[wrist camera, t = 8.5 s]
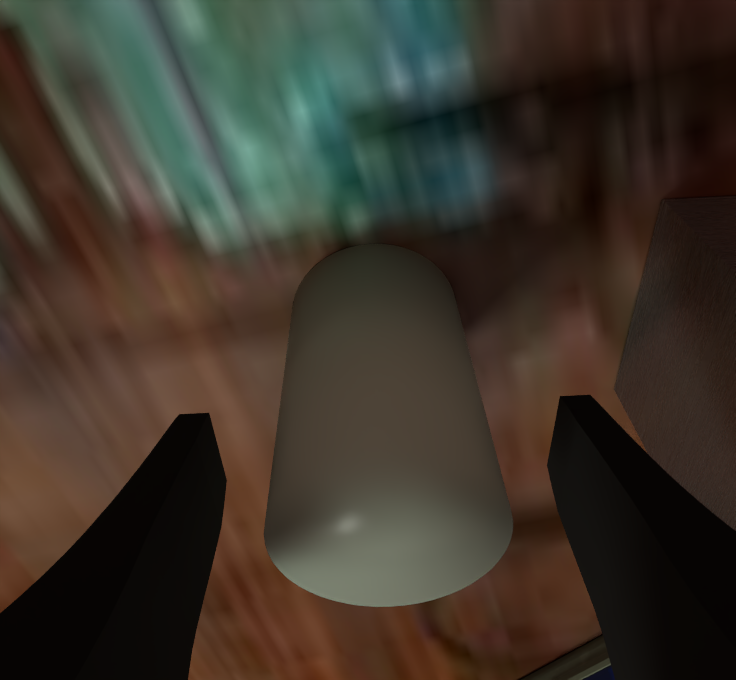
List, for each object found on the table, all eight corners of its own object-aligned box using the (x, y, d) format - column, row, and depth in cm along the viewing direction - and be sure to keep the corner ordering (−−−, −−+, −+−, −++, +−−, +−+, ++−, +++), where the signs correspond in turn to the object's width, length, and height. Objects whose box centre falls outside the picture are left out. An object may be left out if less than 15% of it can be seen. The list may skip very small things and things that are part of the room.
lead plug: (301, 383, 18) (280, 611, 12) (282, 248, 15) (245, 458, 10) (453, 376, 18) (501, 600, 12) (460, 239, 15) (525, 444, 10)
